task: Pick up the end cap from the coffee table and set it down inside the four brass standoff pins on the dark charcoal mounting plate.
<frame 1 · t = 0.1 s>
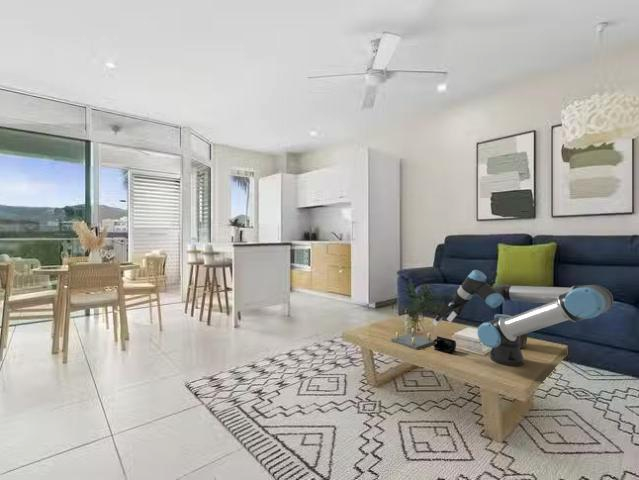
hand: (441, 322, 185), 15 cm above the table, tool tilted 35°, fingers open, 13 cm apart
plant pot: (513, 345, 193), on the table
standoff plate: (413, 342, 198), on the table
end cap: (444, 350, 184), on the table
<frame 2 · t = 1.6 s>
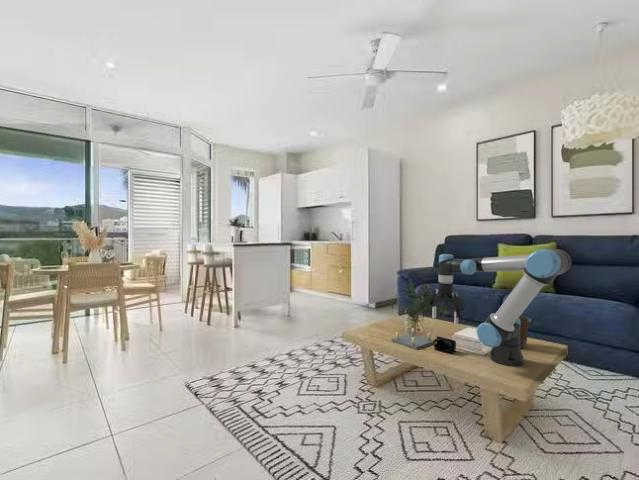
hand: (445, 320, 184), 17 cm above the table, tool pointing down, fingers open, 13 cm apart
nothing on the table moved.
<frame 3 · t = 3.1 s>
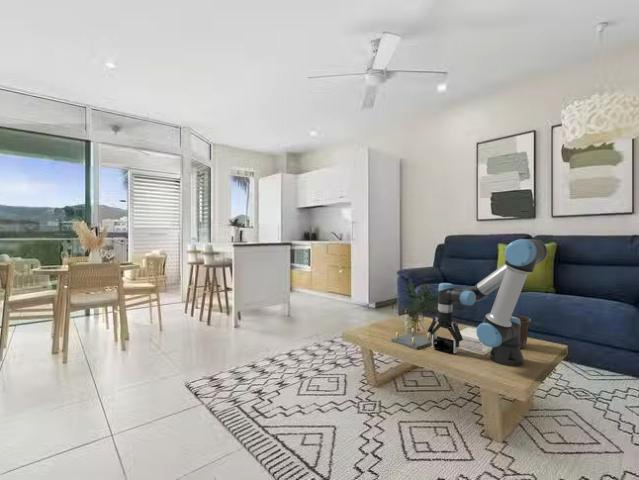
hand: (444, 349, 185), 1 cm above the table, tool pointing down, fingers open, 13 cm apart
nothing on the table moved.
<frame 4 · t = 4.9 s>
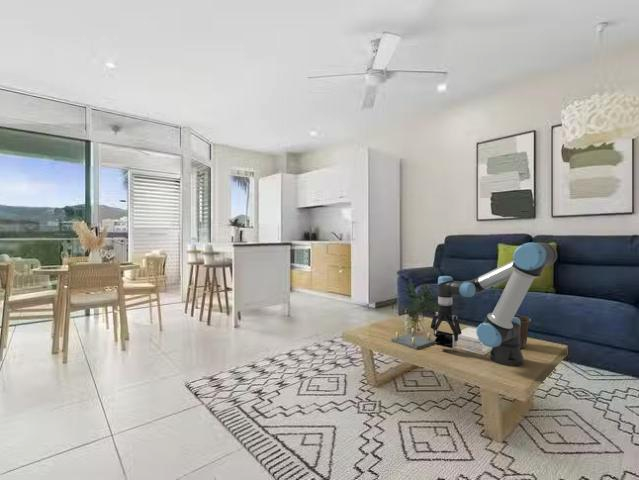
hand: (445, 344, 184), 4 cm above the table, tool pointing down, fingers closed on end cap, 10 cm apart
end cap: (445, 345, 184), point 3 cm above the table, touching gripper
everything else where it was.
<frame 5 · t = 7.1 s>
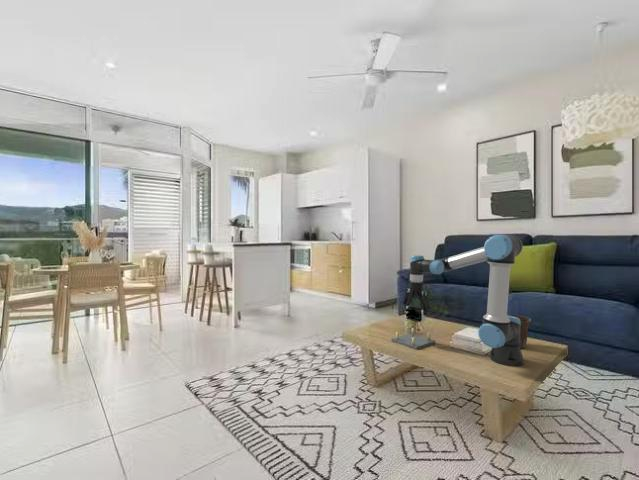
hand: (415, 318, 197), 14 cm above the table, tool pointing down, fingers closed on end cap, 10 cm apart
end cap: (415, 319, 197), point 14 cm above the table, touching gripper
everything else where it was.
when the fingers open (3 cm above the table, at t = 9.8 s): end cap drops 1 cm, resting on standoff plate.
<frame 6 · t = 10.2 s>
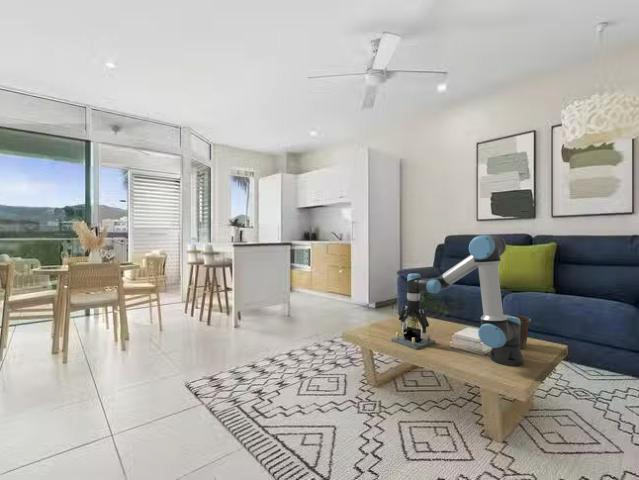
hand: (413, 335, 198), 4 cm above the table, tool pointing down, fingers open, 13 cm apart
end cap: (413, 340, 198), point 1 cm above the table, touching standoff plate
everything else where it was.
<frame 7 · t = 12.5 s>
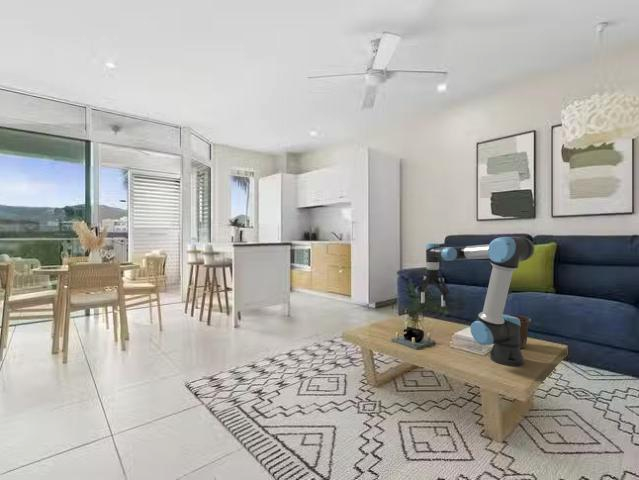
hand: (432, 304, 200), 22 cm above the table, tool pointing down, fingers open, 13 cm apart
nothing on the table moved.
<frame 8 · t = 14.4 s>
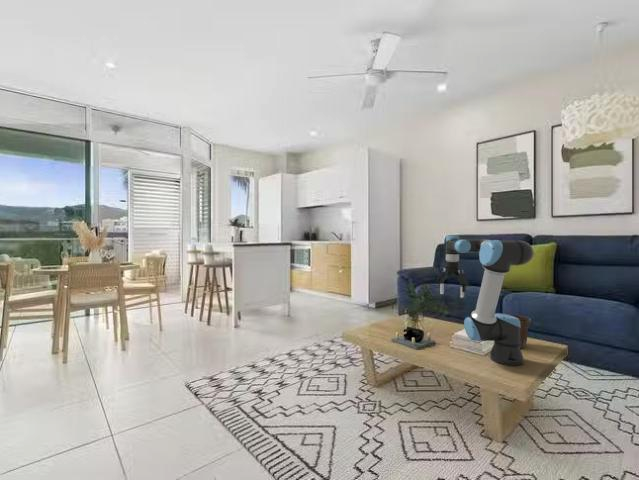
hand: (451, 295, 203), 27 cm above the table, tool pointing down, fingers open, 13 cm apart
nothing on the table moved.
at the end: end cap 0.2 cm off-centre on the standoff plate, point 1.3 cm above the standoff plate's base; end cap tilted 0°; the gripper is holding nothing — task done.
